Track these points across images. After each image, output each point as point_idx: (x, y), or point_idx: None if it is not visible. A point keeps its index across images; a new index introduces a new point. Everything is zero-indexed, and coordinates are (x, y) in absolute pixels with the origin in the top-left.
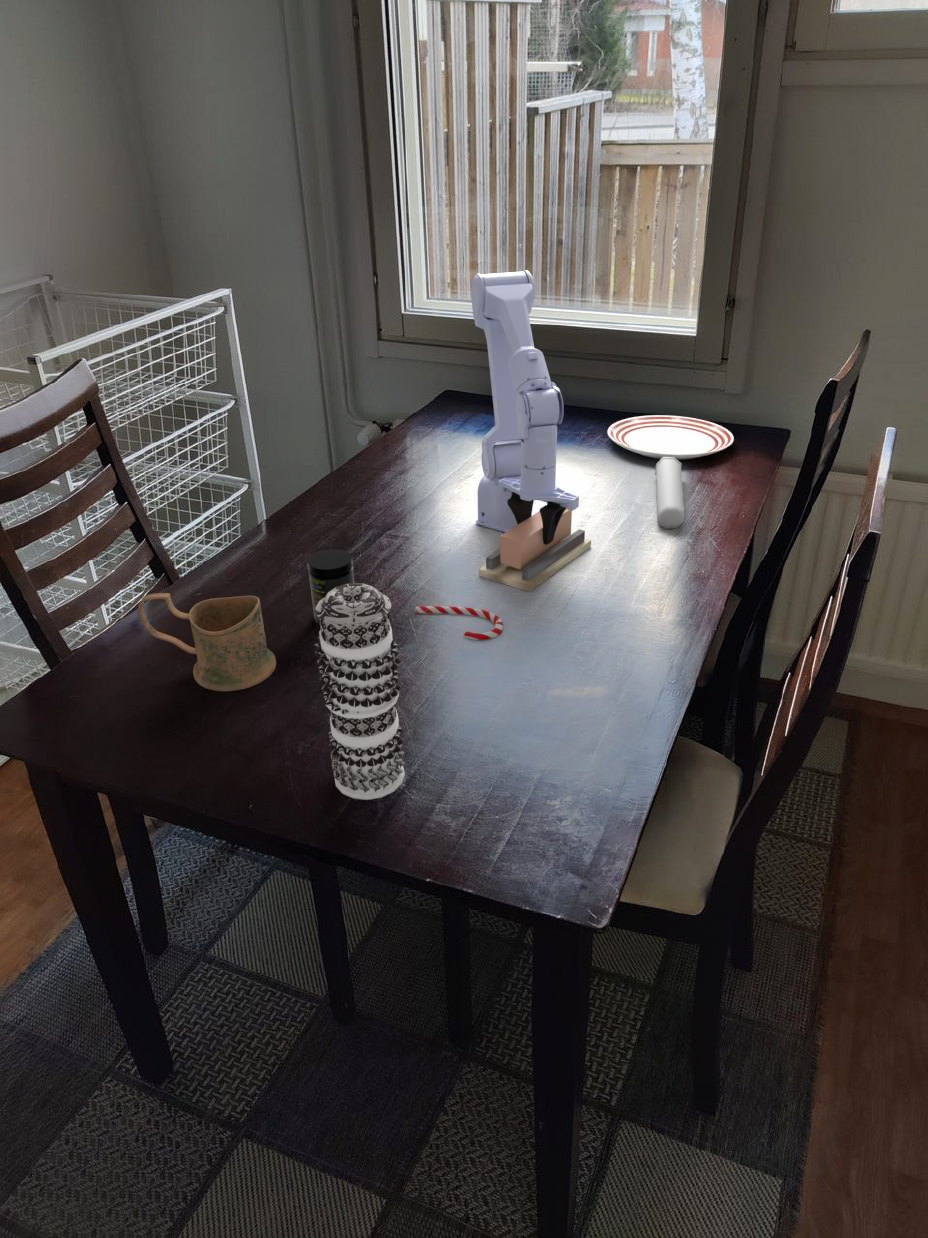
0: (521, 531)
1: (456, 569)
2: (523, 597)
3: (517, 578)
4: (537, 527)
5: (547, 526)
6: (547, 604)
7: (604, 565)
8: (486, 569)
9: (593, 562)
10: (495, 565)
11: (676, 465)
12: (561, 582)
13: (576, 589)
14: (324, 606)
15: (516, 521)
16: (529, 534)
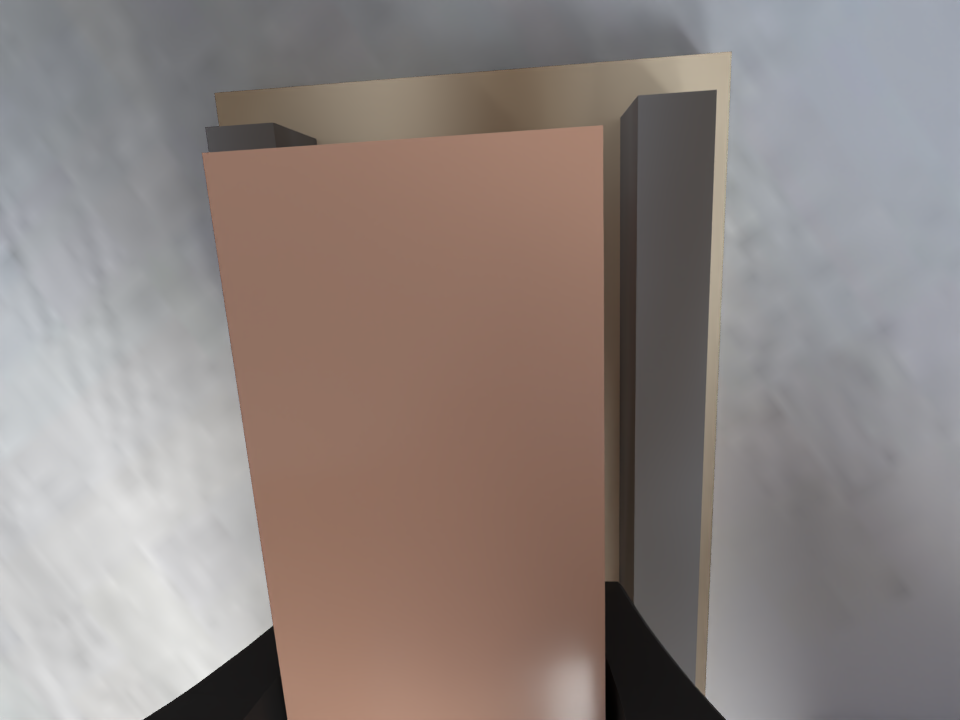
0: (424, 454)
1: (949, 35)
2: (221, 7)
3: (357, 131)
4: (333, 665)
5: (170, 712)
6: (37, 37)
7: (136, 675)
8: (666, 91)
9: (204, 675)
10: (622, 170)
11: None
12: (176, 360)
13: (50, 338)
14: None
15: (699, 691)
16: (275, 439)
